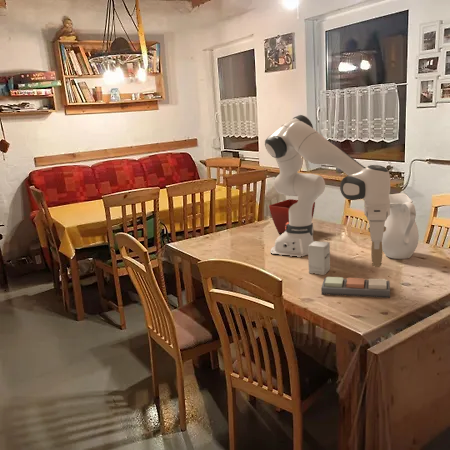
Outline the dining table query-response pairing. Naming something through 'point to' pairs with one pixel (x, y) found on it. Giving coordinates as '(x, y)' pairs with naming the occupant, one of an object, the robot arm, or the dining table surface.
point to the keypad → (356, 290)
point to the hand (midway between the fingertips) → (376, 246)
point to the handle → (376, 253)
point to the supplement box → (319, 257)
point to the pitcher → (400, 228)
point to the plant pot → (283, 213)
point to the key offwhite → (377, 284)
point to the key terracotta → (355, 283)
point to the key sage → (334, 282)
